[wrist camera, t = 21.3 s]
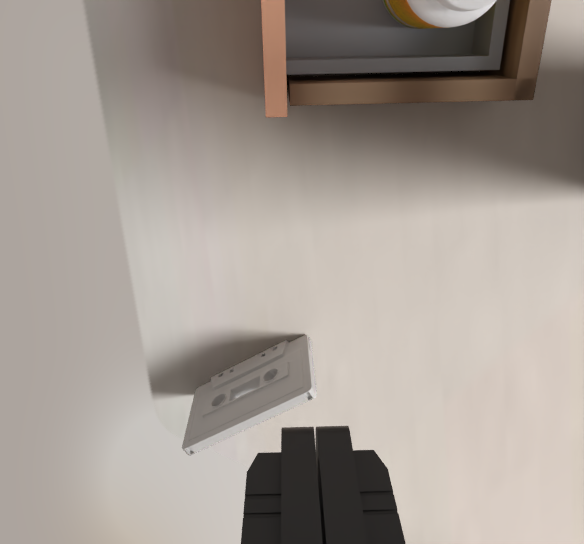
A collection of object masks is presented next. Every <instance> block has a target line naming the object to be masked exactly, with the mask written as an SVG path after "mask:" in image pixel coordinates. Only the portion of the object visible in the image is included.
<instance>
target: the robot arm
mask: <svg viewBox="0 0 584 544" xmlns="http://www.w3.org/2000/svg"><path fill="white" fill-rule="evenodd" d="M241 544H405V540H404V535H403V531H402V527H401V523H400V519H399V515H398V513H397V506H396V502H395V498H394V495H393V489H392V485H391V481H390V477H389V473H388V469H387V467H386V466H385V465H384V463H383V462H382V461H381V459H380V458H379V457H378V455H377V454H376V453H375V451H374V450H356V451H353V449H352V443H351V437H350V431H349V427H348V426H326V427H316V451H315V438H314V427H290V428H282V441H281V452H279V453H258V454H257V456H256V458H255V459H254V461H253V463H252V465H251V466H250V468H249V470H248V471H247V479H246V491H245V502H244V518H243V527H242V538H241Z"/></svg>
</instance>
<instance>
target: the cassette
mask: <svg viewBox="0 0 584 544" xmlns="http://www.w3.org/2000/svg"><path fill="white" fill-rule="evenodd" d="M316 395H317V390H316V381H315V371H314V362H313V352H312V342H311V339H310V338H309V337H308V336H307V335H303V336H301V337H299V338H297V339H295V340H293V341H291V342H288V341H287V340H285V341H283V342H281V343H279V344H277V345H275V346H273V347H271V348H269V349H267V350H265V351H263V352H261V353H259V354H257V355H255V356H253V357H251V358H249V359H247V360H245V361H243V362H241V363H239V364H237V365H235V366H233V367H231V368H229V369H227V370H225V371H222V372H220V373H218V374H216V375H214V376H212V377H211V381H210V382H208V383H206V384H204V385H202V386H200V387H198V388H197V389H196V390H195V394H194V399H193V403H192V407H191V411H190V416H189V420H188V424H187V428H186V433H185V437H184V441H183V445H182V448H183V450H184V451H185V452H186V453H187V454H188V455H189V456H191V455H193V454H195V453H197V452H199V451H201V450H203V449H206V448H208V447H210V446H212V445H214V444H216V443H219V442H221V441H223V440H225V439H227V438H229V437H232V436H234V435H236V434H238V433H240V432H242V431H245V430H247V429H249V428H251V427H253V426H255V425H258V424H260V423H262V422H264V421H266V420H268V419H271V418H273V417H275V416H277V415H279V414H281V413H284V412H286V411H288V410H290V409H292V408H294V407H297V406H299V405H301V404H303V403H305V402H307V401H310V400H312V399H314V398H315V397H316Z"/></svg>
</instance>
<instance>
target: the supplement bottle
mask: <svg viewBox="0 0 584 544" xmlns="http://www.w3.org/2000/svg"><path fill="white" fill-rule="evenodd" d="M495 2H496V0H383V3H384V5H385V8H386V9H387V11H388V13H389V14H390V15H391V16H392V17H393V18H394V19H395V20H396V21H397V22H399V23H400V24H402V25H404V26H407V27H410V28H416V29H425V28H450V27H456V26H461V25H465V24H467V23H470V22H472V21H474V20H476V19H477V18H479V17H480V16H482V15H483V14H484V13H485V12H487V11H488V10H489V9H490V8H491V7H492V6H493V4H494V3H495Z"/></svg>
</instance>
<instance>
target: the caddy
mask: <svg viewBox="0 0 584 544" xmlns="http://www.w3.org/2000/svg"><path fill="white" fill-rule="evenodd" d="M550 5H551V0H510V4H509V10H508V17H507V24H506V30H505V37H504V43H503V50H502V57H501V63H500V70H480V72H446V73H403V74H360V75H317V76H288V94H289V101H290V106H296V105H338V104H380V103H421V102H463V101H505V100H533V98H534V92H535V87H536V81H537V76H538V70H539V65H540V59H541V54H542V49H543V43H544V38H545V32H546V27H547V21H548V16H549V11H550Z"/></svg>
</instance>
